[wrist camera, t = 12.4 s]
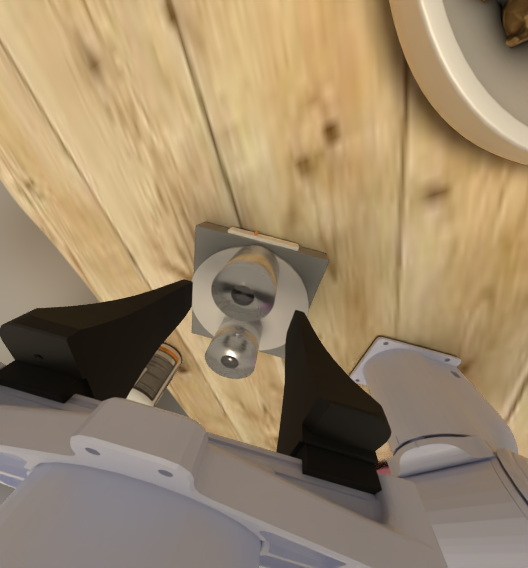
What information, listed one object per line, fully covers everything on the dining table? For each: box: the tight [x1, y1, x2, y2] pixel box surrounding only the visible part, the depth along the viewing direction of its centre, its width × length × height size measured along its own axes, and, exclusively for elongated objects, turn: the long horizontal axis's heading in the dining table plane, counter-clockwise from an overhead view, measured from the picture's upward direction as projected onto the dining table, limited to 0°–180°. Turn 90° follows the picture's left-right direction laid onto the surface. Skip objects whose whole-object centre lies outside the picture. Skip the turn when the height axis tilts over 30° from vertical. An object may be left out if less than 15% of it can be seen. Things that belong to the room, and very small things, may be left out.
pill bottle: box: [126, 344, 181, 407], centre depth 24 cm, size 6×6×10 cm
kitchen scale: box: [191, 222, 329, 358], centre depth 20 cm, size 12×14×3 cm
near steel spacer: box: [211, 245, 280, 322], centre depth 14 cm, size 4×4×4 cm
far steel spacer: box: [205, 315, 263, 379], centre depth 18 cm, size 4×4×4 cm
